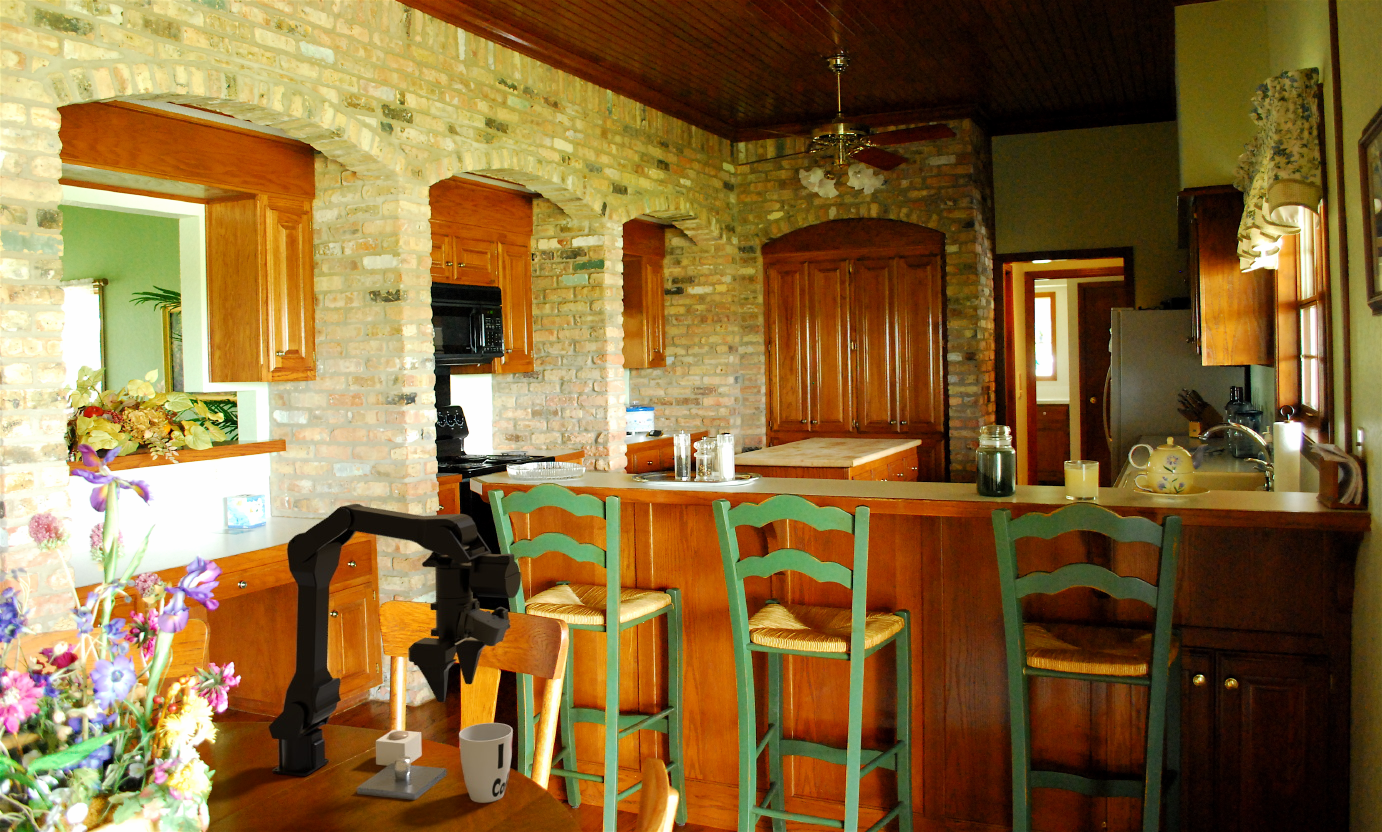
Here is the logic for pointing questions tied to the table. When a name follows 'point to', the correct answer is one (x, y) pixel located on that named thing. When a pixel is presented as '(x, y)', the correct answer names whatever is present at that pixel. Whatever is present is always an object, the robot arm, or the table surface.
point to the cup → (486, 760)
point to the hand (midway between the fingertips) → (455, 692)
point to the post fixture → (402, 780)
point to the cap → (398, 746)
